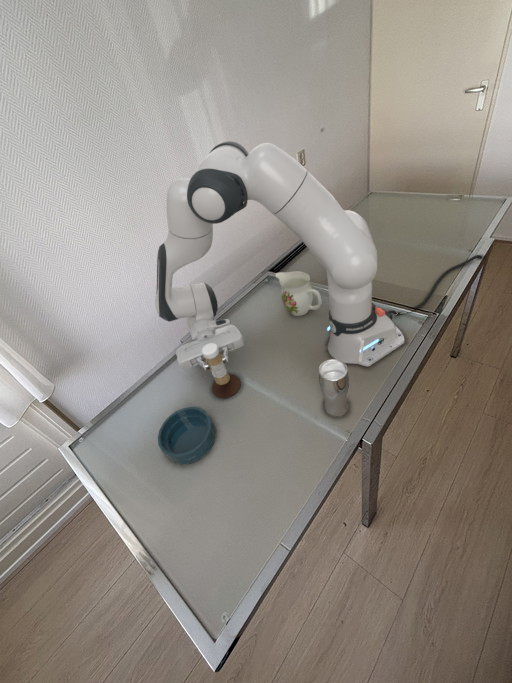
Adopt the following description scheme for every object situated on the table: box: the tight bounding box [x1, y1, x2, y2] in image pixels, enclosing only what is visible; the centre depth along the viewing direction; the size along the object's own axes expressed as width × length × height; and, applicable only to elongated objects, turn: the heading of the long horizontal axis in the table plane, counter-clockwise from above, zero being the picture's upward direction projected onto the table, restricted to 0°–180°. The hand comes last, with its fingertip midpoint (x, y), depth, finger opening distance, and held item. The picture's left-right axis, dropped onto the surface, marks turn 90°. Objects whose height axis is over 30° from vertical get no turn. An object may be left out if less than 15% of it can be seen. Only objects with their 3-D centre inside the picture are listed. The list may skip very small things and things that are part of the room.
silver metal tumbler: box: [318, 358, 350, 418], centre depth 79 cm, size 7×7×15 cm
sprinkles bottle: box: [202, 343, 230, 385], centre depth 91 cm, size 5×5×14 cm
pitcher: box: [274, 270, 323, 317], centre depth 112 cm, size 11×18×14 cm, turn 49°
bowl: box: [157, 406, 217, 466], centre depth 85 cm, size 14×14×5 cm
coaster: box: [211, 373, 242, 399], centre depth 97 cm, size 9×9×1 cm
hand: (216, 364), depth 90 cm, fingers closed on sprinkles bottle, 4 cm apart
